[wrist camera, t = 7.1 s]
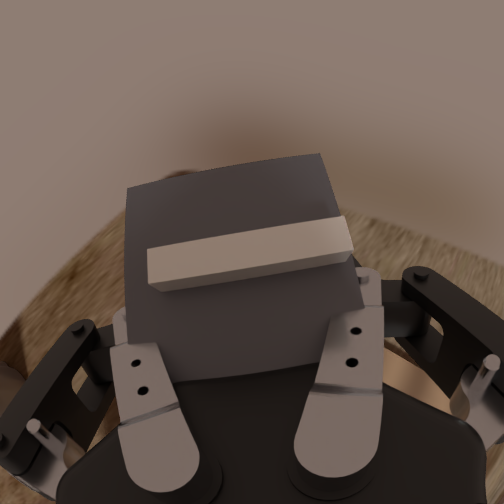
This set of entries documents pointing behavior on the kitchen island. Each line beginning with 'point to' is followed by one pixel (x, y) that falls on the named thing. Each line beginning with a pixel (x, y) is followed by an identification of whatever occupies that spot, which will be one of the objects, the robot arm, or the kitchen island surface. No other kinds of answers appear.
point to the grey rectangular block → (237, 267)
